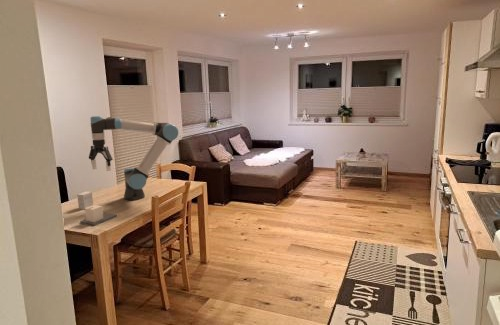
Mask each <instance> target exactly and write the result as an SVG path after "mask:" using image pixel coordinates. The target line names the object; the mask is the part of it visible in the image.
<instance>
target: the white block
mask: <svg viewBox="0 0 500 325" xmlns="http://www.w3.org/2000/svg"><path fill="white" fill-rule="evenodd" d="M84 212H85V219H86V221H91V222H96V221H98V220H101V219H103V212H104V211H103V205H96V204H93V206H90V207H87V208H85V209H84Z"/></svg>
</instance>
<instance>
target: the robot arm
mask: <svg viewBox="0 0 500 325" xmlns="http://www.w3.org/2000/svg"><path fill="white" fill-rule="evenodd" d="M90 129H91V137H92V138H91V139H92V145H91V146H90V150H89V151H90V152H89V154H88V159H89V160H91V161H90V162H91V168H92V170H97V161H96V160H97V159H96V157H97V155H98V154H101V155H102V156H103V158H104V159H105V168H106V171H107V172H110V171H111V161H113V156H112V155H111V153H110V151H109V147H108V146H105V145H106V142H105V132H104V131H107V130H109V131H112V130H122V131H132V132H138V133H139V132H140V133H145V134H151V135H154V136H156V139H155V141H154V142H153V143H152V145H151V147H150V148H149V149H148V151H147V153H146V154H145V156H144V157H143V158H142V161H141V162H140V163H139V165H138V166H135V167H128V168H125V169H124V170H123V174H124V184H125V185H124V187H125V189H124V194H123V199H124V200H126V201H136V200H142V199H145V192H144V189H143V188H145V186H146V184H147V180H148V178H149V177H150V174H149V173H150V172H151V170H152V169H153V167H154V166H155V164H156V162H157V161H158V159H159V158H160V157H161V155H162V154H163V152H164V150H165V149H166V148H167V146H168V145H171V144H172V142H173V141H175V140H177V138H178V136H179V129H178V127H177V126H176V125H174V124H173V123H168V122H153V123H152V122H145V121H140V120H139V121H138V120H131V119H125V118H120V117H119V118H118V117H111V116H109V117H106V118H103V116H102V115H94V116H93V115H92V116H91V117H90Z"/></svg>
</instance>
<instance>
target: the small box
mask: <svg viewBox="0 0 500 325" xmlns="http://www.w3.org/2000/svg"><path fill="white" fill-rule="evenodd" d="M77 204H78V209H79V210H85V208H87V207H90V206H93V205H94V199H93V192H92V191H88V190H87V191H86V190H85V191H84V192H83V191H82V192H80V193H78V194H77Z"/></svg>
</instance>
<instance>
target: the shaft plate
mask: <svg viewBox="0 0 500 325" xmlns="http://www.w3.org/2000/svg"><path fill="white" fill-rule="evenodd" d="M117 217H118V215H117V214H115V213H108V212H104V211H103V219H101V220H98V221H96V222H91V221H86V218H84V219H83V220H80V221H79V223H80V224H82V225H88V226H92V227H95V226H97V225H100V224H103V223H105V222H108V221H110V220H113V219H115V218H117Z"/></svg>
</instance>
